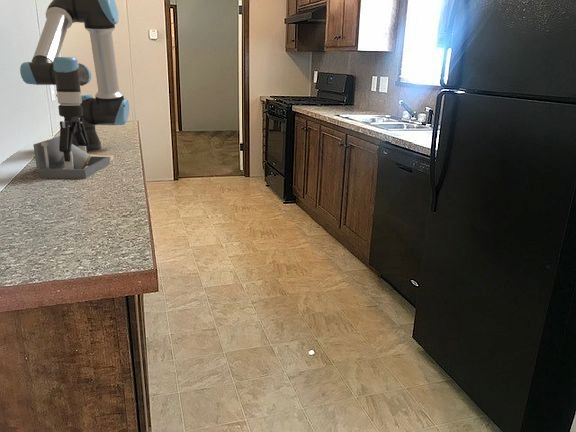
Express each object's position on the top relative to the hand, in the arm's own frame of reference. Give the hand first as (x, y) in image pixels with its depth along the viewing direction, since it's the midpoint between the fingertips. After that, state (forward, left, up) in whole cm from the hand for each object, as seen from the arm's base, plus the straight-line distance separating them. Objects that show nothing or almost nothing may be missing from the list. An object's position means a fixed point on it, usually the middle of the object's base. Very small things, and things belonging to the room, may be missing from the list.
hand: (76, 167), depth 167 cm
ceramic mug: (0, 0, -2) cm, 2 cm away
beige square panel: (-20, -2, -1) cm, 20 cm away
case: (0, 0, -1) cm, 1 cm away
